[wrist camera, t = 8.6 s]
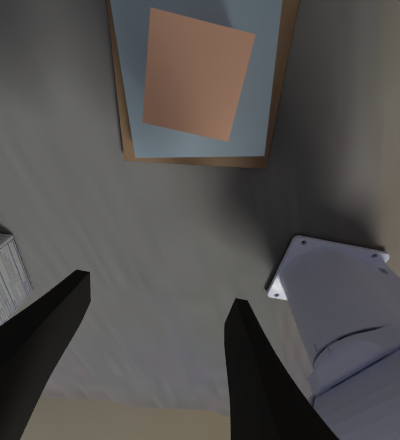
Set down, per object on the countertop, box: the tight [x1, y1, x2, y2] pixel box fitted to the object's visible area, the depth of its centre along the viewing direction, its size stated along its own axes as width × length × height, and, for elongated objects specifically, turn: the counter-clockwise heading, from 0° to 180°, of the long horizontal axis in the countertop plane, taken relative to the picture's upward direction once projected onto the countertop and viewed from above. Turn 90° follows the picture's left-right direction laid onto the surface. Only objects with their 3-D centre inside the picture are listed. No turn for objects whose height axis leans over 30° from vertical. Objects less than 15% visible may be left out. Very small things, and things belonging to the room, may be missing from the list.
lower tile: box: [106, 0, 300, 169], centre depth 16 cm, size 11×11×2 cm
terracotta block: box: [142, 7, 256, 142], centre depth 12 cm, size 4×4×5 cm
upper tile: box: [110, 0, 282, 158], centre depth 14 cm, size 9×9×2 cm
